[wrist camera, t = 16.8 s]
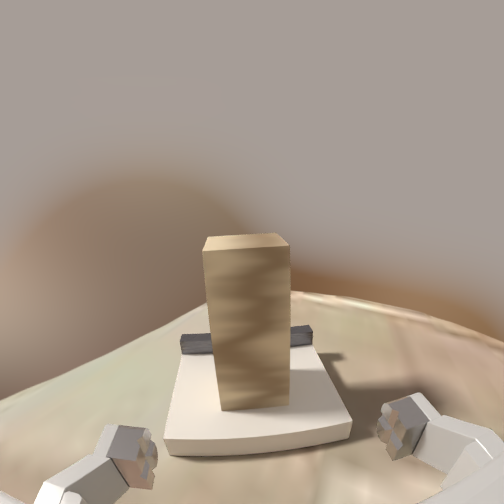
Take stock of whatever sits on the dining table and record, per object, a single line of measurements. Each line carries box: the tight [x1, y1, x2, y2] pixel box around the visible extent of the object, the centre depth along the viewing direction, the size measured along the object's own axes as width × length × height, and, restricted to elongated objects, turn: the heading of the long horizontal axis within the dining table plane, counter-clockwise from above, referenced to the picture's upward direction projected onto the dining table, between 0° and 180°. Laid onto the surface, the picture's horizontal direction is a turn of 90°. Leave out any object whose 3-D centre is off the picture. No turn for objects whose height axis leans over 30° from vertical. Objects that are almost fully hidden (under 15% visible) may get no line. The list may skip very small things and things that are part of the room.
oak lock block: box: [202, 233, 290, 411], centre depth 20 cm, size 5×5×12 cm
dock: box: [163, 325, 353, 456], centre depth 23 cm, size 13×13×4 cm
